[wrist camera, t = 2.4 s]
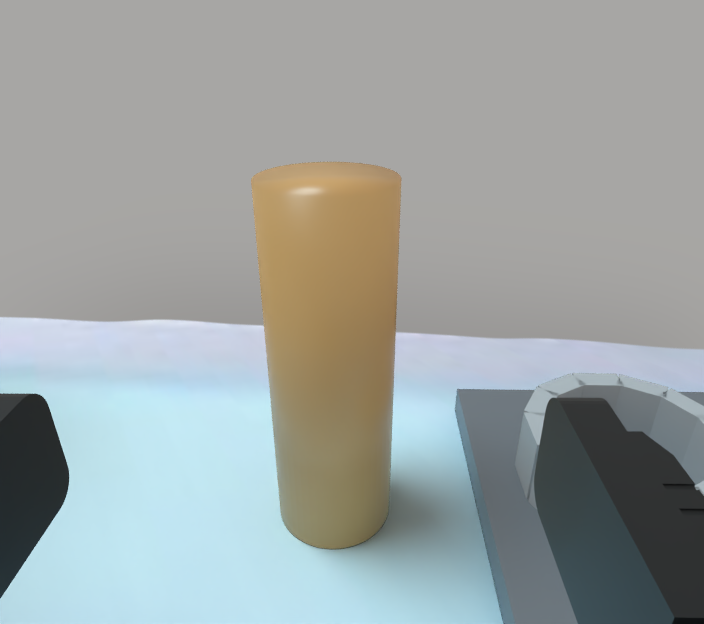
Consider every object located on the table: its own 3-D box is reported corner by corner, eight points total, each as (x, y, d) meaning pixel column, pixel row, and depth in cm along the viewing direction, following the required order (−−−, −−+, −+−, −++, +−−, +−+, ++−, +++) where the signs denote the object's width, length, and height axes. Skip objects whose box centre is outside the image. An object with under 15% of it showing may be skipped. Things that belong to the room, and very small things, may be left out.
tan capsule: (257, 512, 25) (219, 181, 18) (326, 451, 28) (317, 156, 21) (345, 569, 22) (339, 206, 15) (409, 494, 25) (429, 173, 19)
